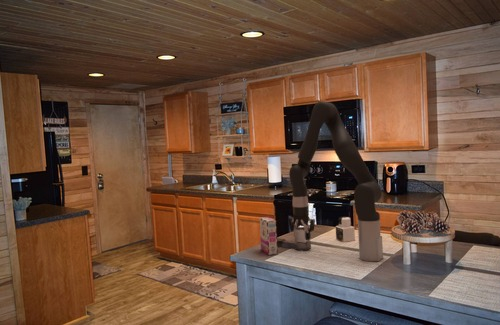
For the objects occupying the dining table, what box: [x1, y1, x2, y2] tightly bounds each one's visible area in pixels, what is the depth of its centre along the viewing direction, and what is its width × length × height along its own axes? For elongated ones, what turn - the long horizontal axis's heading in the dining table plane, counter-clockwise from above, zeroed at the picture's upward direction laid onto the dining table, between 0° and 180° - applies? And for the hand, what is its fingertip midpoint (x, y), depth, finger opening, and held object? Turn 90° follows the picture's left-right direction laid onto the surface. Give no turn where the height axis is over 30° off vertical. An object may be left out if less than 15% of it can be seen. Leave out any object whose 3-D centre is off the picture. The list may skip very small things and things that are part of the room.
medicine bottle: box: [335, 216, 356, 243], centre depth 199 cm, size 7×7×12 cm
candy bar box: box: [259, 216, 279, 256], centre depth 185 cm, size 11×5×16 cm, turn 18°
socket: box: [293, 226, 311, 243], centre depth 188 cm, size 6×6×6 cm
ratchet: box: [277, 237, 312, 252], centre depth 192 cm, size 22×8×8 cm, turn 55°
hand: (302, 239), depth 188 cm, fingers closed on socket, 5 cm apart
